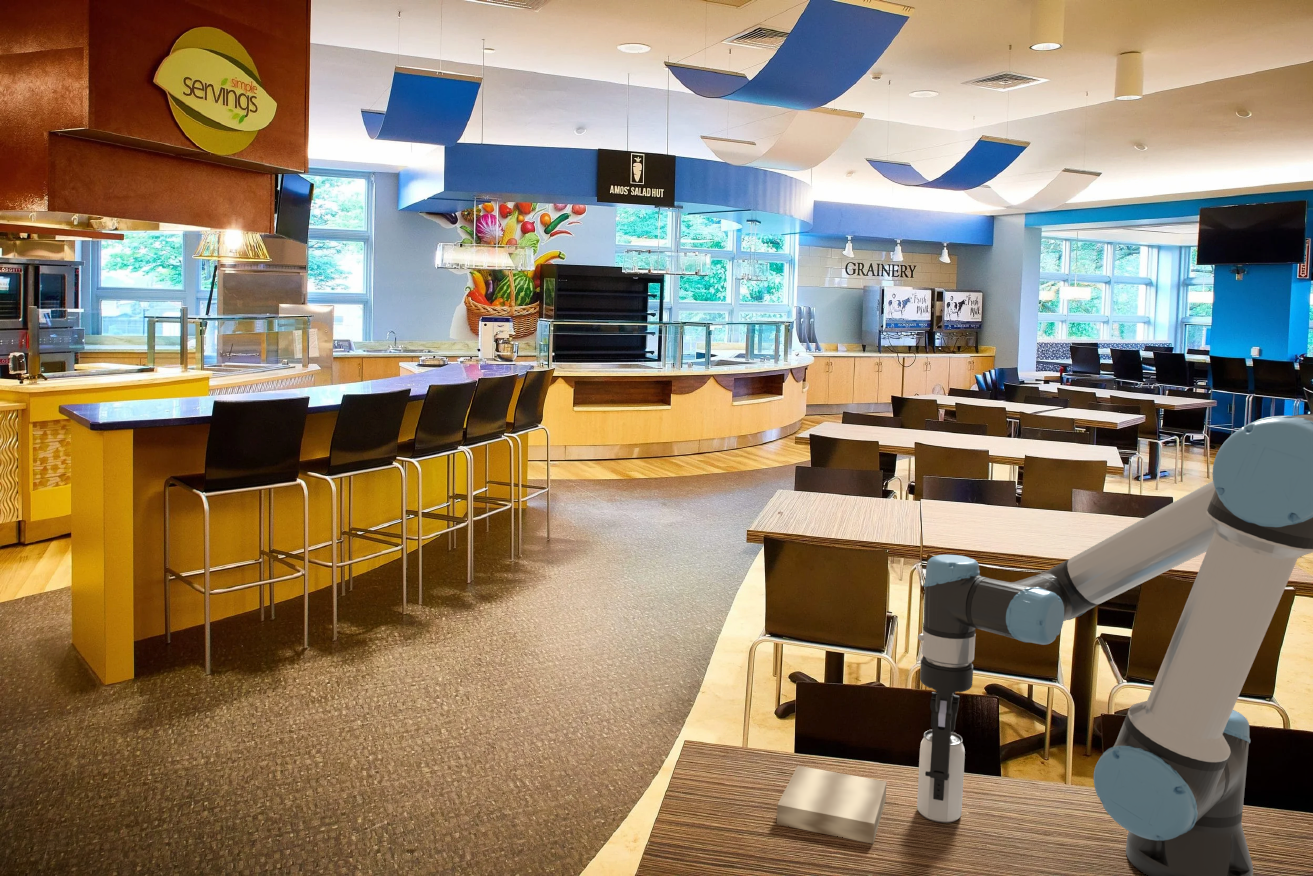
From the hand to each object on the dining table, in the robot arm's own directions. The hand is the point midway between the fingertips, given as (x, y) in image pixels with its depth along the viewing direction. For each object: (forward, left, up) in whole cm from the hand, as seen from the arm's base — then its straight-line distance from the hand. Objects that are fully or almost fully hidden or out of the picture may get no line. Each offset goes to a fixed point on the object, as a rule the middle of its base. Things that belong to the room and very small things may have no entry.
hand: (939, 807), depth 142 cm
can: (0, 0, -1) cm, 1 cm away
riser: (+15, +6, -1) cm, 16 cm away
